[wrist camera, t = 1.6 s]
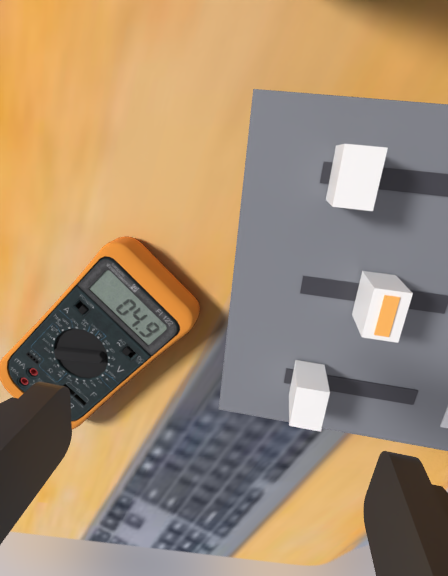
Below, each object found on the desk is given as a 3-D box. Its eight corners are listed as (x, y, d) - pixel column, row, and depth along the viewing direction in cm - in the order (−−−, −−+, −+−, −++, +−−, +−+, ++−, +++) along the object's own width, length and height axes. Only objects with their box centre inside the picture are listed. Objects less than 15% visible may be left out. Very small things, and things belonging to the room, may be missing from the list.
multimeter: (12, 356, 34) (-17, 377, 31) (131, 225, 28) (111, 234, 24) (80, 417, 35) (60, 443, 32) (210, 304, 29) (200, 323, 26)
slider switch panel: (565, 122, 21) (610, 117, 18) (447, 425, 29) (466, 455, 26) (257, 97, 23) (253, 88, 20) (224, 386, 31) (218, 410, 28)
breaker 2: (372, 149, 20) (387, 147, 17) (360, 203, 21) (372, 211, 18) (336, 145, 20) (344, 143, 17) (325, 199, 21) (332, 206, 18)
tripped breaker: (395, 275, 22) (413, 294, 19) (383, 319, 23) (398, 343, 20) (362, 270, 23) (374, 288, 19) (351, 314, 24) (362, 338, 21)
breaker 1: (324, 364, 25) (330, 392, 22) (316, 400, 26) (320, 431, 23) (295, 360, 25) (297, 386, 22) (288, 395, 26) (289, 425, 23)
